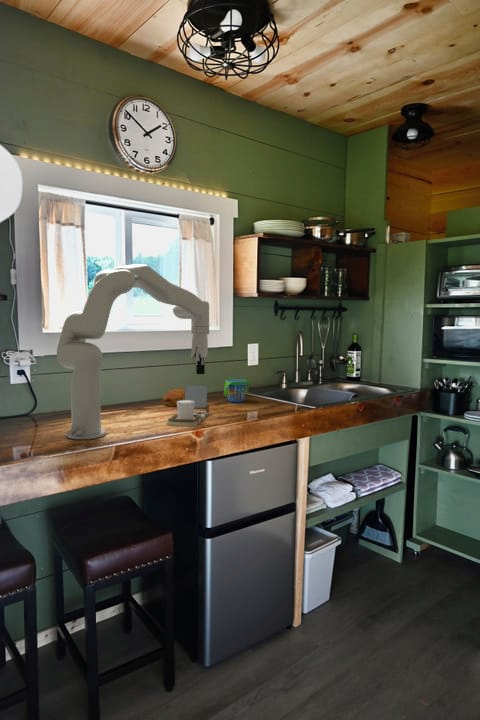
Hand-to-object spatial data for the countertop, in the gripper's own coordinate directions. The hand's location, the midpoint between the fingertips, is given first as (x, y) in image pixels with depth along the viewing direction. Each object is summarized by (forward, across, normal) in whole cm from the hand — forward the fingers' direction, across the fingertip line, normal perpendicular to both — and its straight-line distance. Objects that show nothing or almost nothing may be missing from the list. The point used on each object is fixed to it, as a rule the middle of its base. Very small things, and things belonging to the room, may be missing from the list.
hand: (200, 373), depth 210 cm
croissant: (+16, -13, -14) cm, 25 cm away
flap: (+9, +7, 0) cm, 11 cm away
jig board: (+16, +17, 0) cm, 23 cm away
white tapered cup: (+15, +23, 0) cm, 27 cm away
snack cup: (+17, -25, +11) cm, 32 cm away
